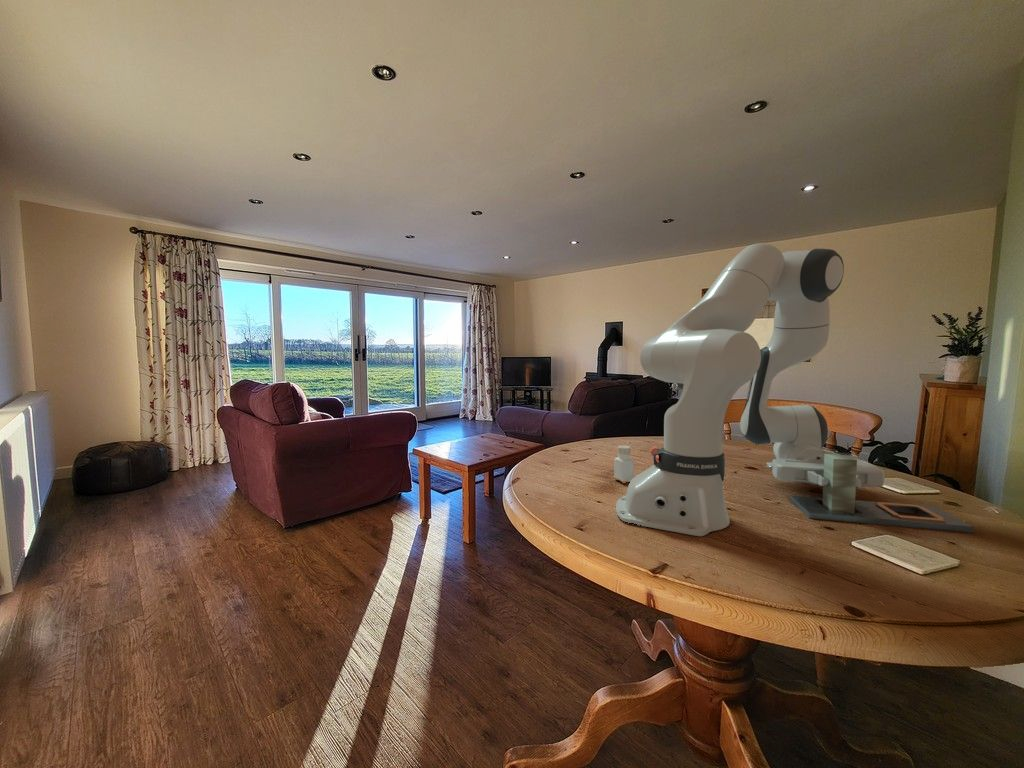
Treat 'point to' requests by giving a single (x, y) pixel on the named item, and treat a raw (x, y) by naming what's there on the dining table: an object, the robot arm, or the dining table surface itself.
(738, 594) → the dining table surface
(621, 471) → the white pill bottle
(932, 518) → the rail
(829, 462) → the peg
